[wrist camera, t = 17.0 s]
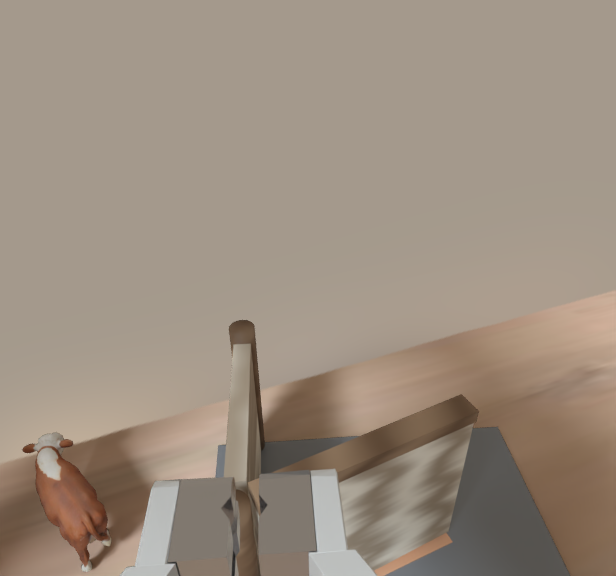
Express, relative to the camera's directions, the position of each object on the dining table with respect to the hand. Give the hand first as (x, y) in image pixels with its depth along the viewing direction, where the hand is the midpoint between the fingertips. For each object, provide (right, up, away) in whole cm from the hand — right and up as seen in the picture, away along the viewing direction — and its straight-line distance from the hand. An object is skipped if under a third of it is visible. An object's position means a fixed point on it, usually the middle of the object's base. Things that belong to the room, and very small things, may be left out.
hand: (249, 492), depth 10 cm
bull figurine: (-21, -19, +41) cm, 50 cm away
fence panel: (+6, -21, +36) cm, 42 cm away
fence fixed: (-4, -19, +40) cm, 45 cm away
